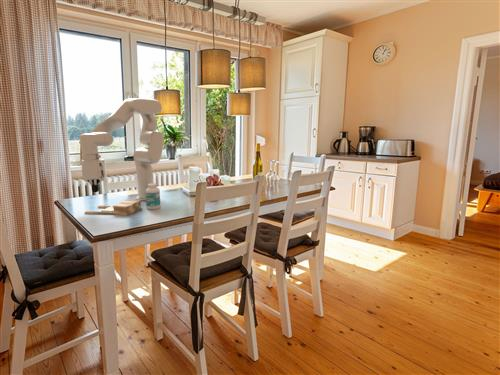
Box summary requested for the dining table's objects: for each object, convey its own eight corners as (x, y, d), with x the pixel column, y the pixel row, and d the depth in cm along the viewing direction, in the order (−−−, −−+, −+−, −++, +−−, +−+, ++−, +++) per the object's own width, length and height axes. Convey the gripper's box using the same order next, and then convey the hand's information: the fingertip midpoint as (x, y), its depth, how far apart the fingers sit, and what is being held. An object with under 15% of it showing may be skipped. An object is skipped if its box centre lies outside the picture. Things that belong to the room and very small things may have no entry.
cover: (110, 209, 168) (110, 206, 168) (136, 210, 167) (136, 206, 166) (101, 214, 160) (100, 210, 159) (128, 215, 158) (128, 211, 158)
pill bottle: (143, 209, 167) (141, 184, 165) (152, 205, 174) (151, 182, 171) (154, 210, 165) (153, 185, 162) (163, 207, 171) (162, 183, 169)
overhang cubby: (100, 207, 172) (99, 199, 171) (141, 208, 170) (140, 200, 169) (84, 214, 158) (83, 205, 157) (128, 215, 156) (128, 206, 155)
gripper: (108, 156, 162) (112, 190, 167) (81, 156, 164) (87, 190, 168) (100, 158, 155) (105, 193, 159) (72, 158, 157) (78, 193, 161)
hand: (95, 191), depth 164 cm, fingers closed
